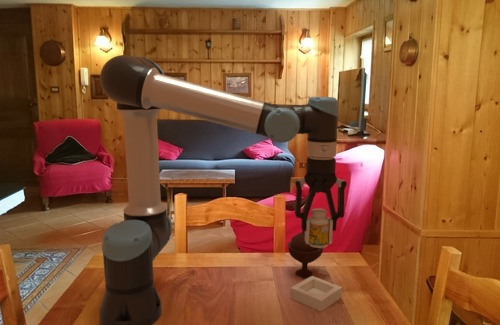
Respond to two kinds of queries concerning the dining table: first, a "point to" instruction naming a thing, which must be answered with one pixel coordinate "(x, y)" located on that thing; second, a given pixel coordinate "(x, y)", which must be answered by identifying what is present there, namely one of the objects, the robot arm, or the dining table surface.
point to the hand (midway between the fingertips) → (318, 241)
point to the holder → (316, 293)
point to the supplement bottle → (318, 228)
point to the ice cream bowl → (303, 254)
